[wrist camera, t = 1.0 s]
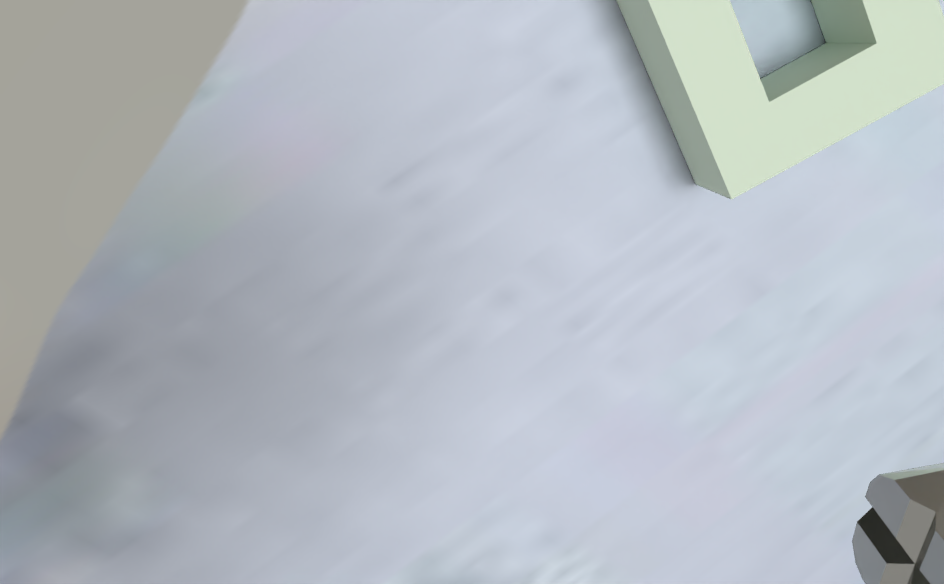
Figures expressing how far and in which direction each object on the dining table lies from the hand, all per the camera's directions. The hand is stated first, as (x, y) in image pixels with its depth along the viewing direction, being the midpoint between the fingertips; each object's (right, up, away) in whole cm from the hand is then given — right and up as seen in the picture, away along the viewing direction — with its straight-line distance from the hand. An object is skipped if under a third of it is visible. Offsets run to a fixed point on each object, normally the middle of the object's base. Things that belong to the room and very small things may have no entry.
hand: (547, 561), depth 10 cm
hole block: (+15, +19, +38) cm, 45 cm away
